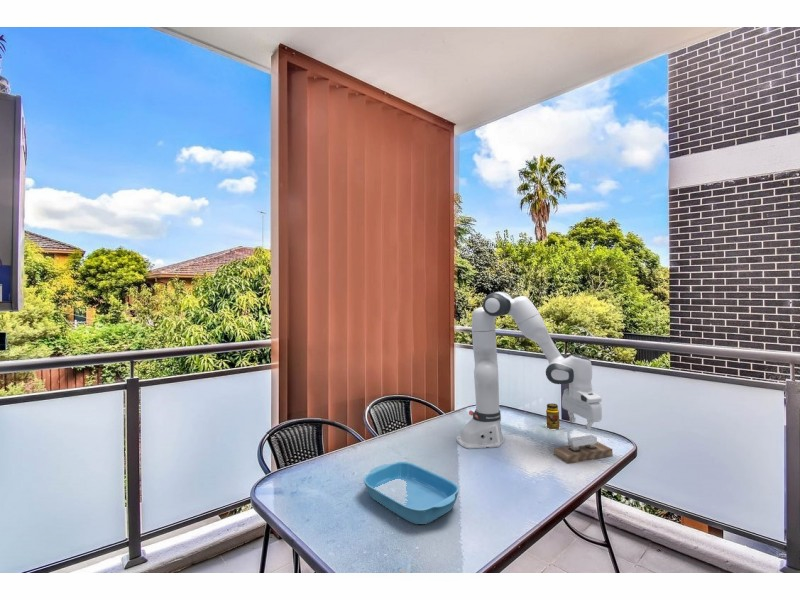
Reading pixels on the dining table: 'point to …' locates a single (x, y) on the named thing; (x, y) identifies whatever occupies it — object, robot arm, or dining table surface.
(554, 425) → the condiment
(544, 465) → the dining table surface
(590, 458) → the brown wooden block
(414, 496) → the casserole dish
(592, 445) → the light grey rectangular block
